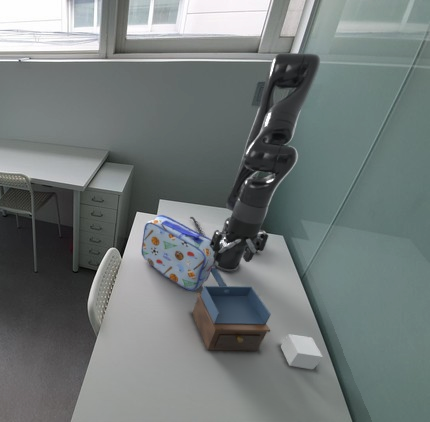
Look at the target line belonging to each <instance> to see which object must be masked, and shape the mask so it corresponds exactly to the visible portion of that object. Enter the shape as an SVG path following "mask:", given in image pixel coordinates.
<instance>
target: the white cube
mask: <svg viewBox="0 0 430 422" xmlns="http://www.w3.org/2000/svg"><path fill="white" fill-rule="evenodd" d="M280 348H281V350H282V353H283V355H284V357H285V359H286V361H287V363H288V364H287V365H288V366H289V367H295V368H302V369H308V370H314V369H315V368H316V367H317V366H318V364H319V363H320V361H321V360H322V359H323V357H324V356H323V354H322V352H321V351H320V349H319V347H318V346H317V343H316V342H315V340H314V339H313V337H311V336H305V335H304V336H303V335H297V334H289V333H287V336H286V338H285V339H284V341H283V342H282V344H281V345H280Z"/></svg>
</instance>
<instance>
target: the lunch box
mask: <svg viewBox="0 0 430 422" xmlns="http://www.w3.org/2000/svg"><path fill="white" fill-rule="evenodd" d="M202 234H203V233H202ZM202 234H200V233H199V231H198V232H197V231H196V230H193V229H192V228H190V227H188V226H186V225H184V224H182V223H180V222H179V221H177V220H175V219H173V218H172V217H170V216H167V215H164V214H159V215H157V216H156V218H153V219H152V220H149V221H147V222H146V223H145V225H144V228H143V235H142V243H141V256H142V257H143V259H144V260H145V261H146V262H147V263H149V264H150V265H151V266H152V267H153V268H154V269H156V270H157V271H158V272H159V273H160V274H161V275H163V276H164V277H165V278H167V279H168V280H170V281H172V282H174V283H175V284H176V285H178V286H180V287H182V288H183V289H185V290H187V291H196V290H198V289H199V288H200V287H201V286H202V285H203V284H204V283H205V282H206V281H208V279H209V277H210V275H211V268H213V267H214V268H215V267H216V266H217V265H218V262H216V260H215V259H214V257H213V255H214V252H215V251H213V250H212V248H211V247H210V242H211V240H212V238H209V237H207V236H206V235H205V234H203V235H202ZM215 265H216V266H215Z"/></svg>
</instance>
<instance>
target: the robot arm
mask: <svg viewBox="0 0 430 422" xmlns="http://www.w3.org/2000/svg"><path fill="white" fill-rule="evenodd" d="M320 64H321V58H320V56H319V55H318V54H315V53H303V52H301V53H300V52H299V53H296V52H280V53H278V54H276V55H275V56H274V57H273V59H272V61H271V63H270V65H269V68H268V71H267V75H266V78H265V82H264V85H263V90H262V92H261V93H262V94H261V98H260V102H259V105H258V109H257V112H256V116H255V118H254V121H253V124H252V126H251V129H250V132H249V135H248V138H247V140H246V143H245V147H244V151H243V154H242V158H241V160H240V164H239V168H238V170H237V173H236V176H235V178H234V181H233V184H232V185H231V188H230V190H229V193H228V196H227V199H226V203H225V207H226V209H227V210H229V211H231V215H230V216H229V217H227V218H226V219H225V220H224V223H223V227H222V230H221V231H220V230H219V229H216V230H214V232H213V235H212V237H211V242H210V247H211V248H212V250H213V251H215V252H214V255H213V257H214V259H215V260H216V262H218V265H217V266H216V265H215V266H214V267H215V268H216V269H218V270H221V271H224V272H228V273H233V272H236V271H237V270H238V269H239V266H240V264H241V260H242V258H243V260H244V262H245V263H250V261H252V260H253V257H254V255H255V254H257V253H256V251H257V252H263V251H264V250H265V247H266V244H267V242H268V239H269V234H268V233H267V232H266V231H265V230H264V229H261V228H262V226H263V224H264V221H265V218H266V216H267V213H268V211H269V205H270V203H271V201H272V198H273V195H274V194H275V191H276V190H277V188H278V187H279V185H280V184H281V183H282V182H283V180H284V179H285V178H286V177H287V176H288V174H289V173H290V172H291V171H292V169H293V168H294V166H295V165H296V163H297V162H298V159H299V153H298V151H297V149H296V147H294V146H292V145H288V144H289V143H290V142H291V141H292V139H293V137H294V134H295V131H296V128H297V124H298V119H299V116H300V114H301V111H302V109H303V107H304V106H305V103H306V102H307V99H308V96H309V95H310V93H311V90H312V87H313V85H314V82H315V80H316V77H317V75H318V72H319V69H320ZM277 90H285V91H286V90H287V91H292V92H291V93H289V94H288V95H286V96H285V97H283V98H282V99H280V100H279V101H277V102H276V91H277ZM259 172H260V173H265V174H268V175H265V176H254V175H255V174H257V173H259ZM189 219H191V220H192V221H193V223H194V225H195V227H196V229H197V231H198V233H200V234H202V235H204V234H203V232H202V231H201V228H200V226H199V225H198V223H197V221H196V219H195V218H194V217H193V216H190V217H189ZM256 238H257V240H256V243H255V245H253V243H252V241H253V240H254V239H256ZM246 246H248V248H247V249H246V251H245V248H246Z"/></svg>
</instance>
